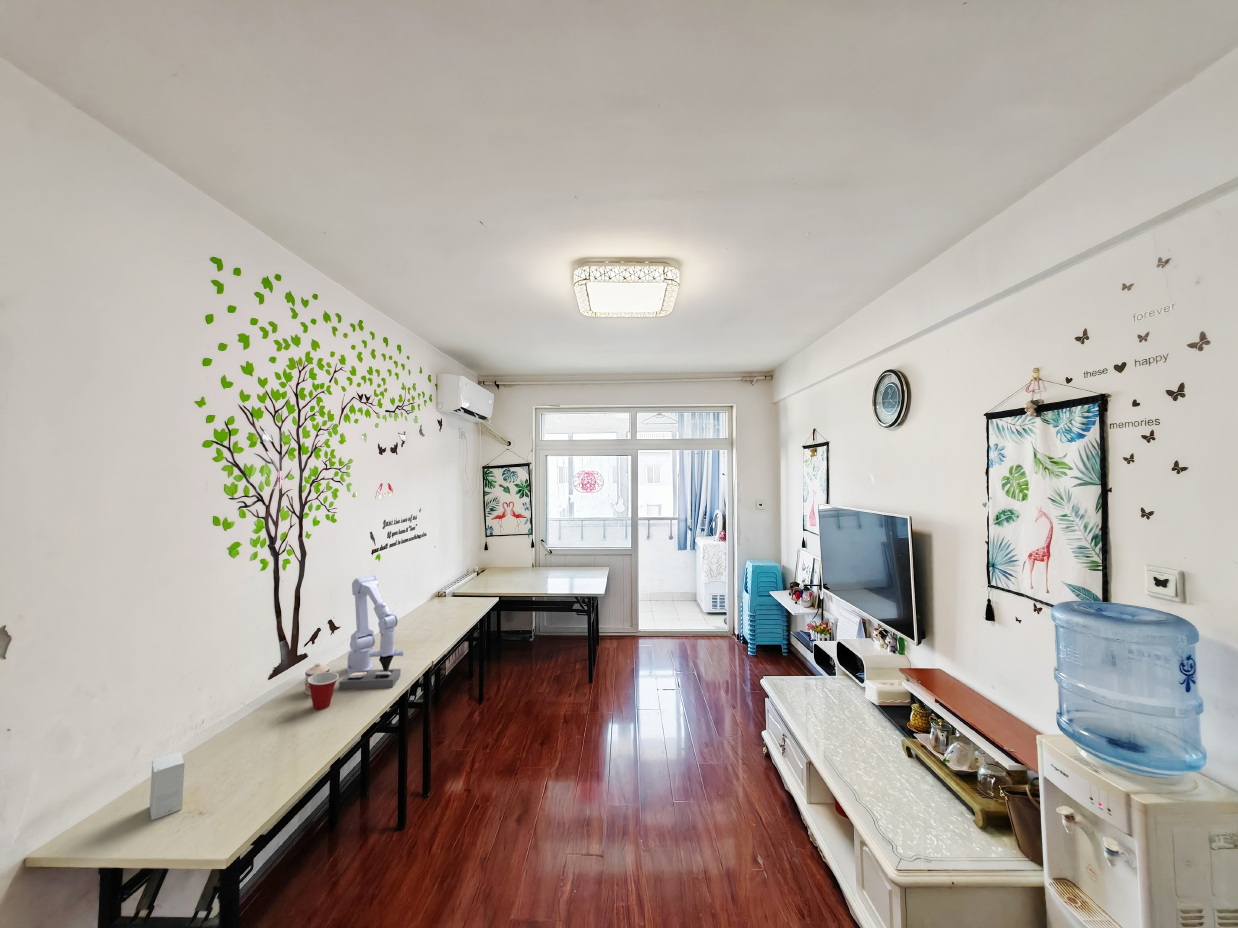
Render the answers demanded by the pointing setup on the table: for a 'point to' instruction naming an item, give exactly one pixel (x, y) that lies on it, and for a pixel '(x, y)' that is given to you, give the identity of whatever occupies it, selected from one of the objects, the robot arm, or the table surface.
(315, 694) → the plastic cup
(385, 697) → the table surface
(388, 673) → the rocker right
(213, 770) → the table surface
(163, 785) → the small box
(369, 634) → the robot arm
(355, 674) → the rocker left
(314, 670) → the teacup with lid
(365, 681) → the grey flat block
